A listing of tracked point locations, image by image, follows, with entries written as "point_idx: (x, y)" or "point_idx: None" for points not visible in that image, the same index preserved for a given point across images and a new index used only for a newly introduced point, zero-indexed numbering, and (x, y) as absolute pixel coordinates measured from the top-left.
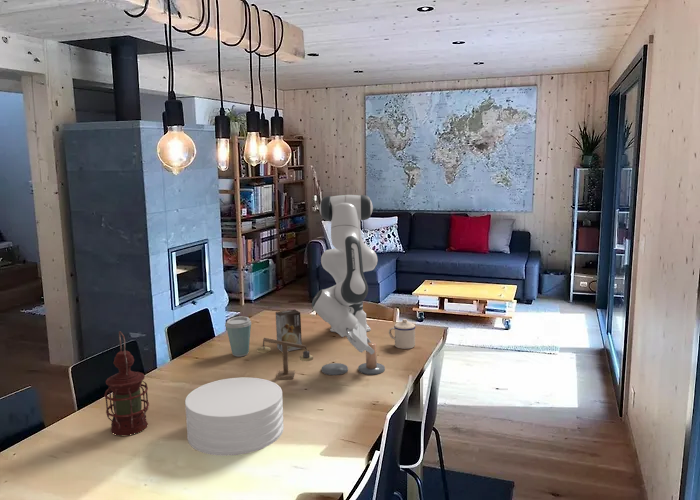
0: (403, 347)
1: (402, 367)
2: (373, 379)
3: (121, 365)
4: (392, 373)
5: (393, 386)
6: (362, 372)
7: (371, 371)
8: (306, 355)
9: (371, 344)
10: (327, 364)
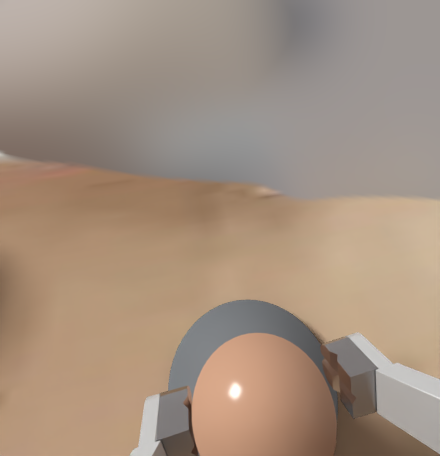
0: None
1: (184, 231)
2: (382, 334)
3: None
4: (268, 258)
5: (409, 227)
6: None
7: (320, 365)
8: None
9: (280, 398)
10: None
